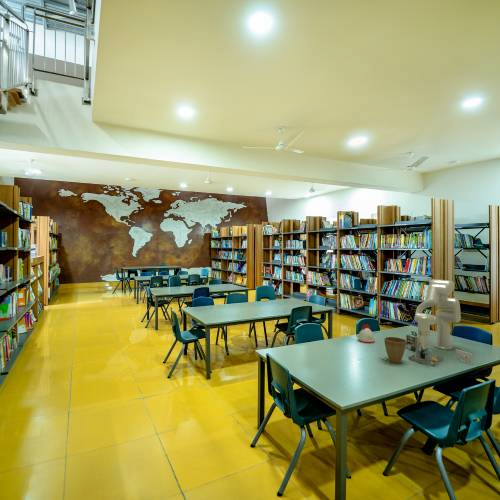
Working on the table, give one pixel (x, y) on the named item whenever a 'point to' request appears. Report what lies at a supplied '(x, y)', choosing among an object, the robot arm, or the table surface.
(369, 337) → the cupcake
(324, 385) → the table surface
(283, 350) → the table surface
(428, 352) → the grey block
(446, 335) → the robot arm
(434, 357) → the hinge base
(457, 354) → the cassette
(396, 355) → the plant pot
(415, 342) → the model building
